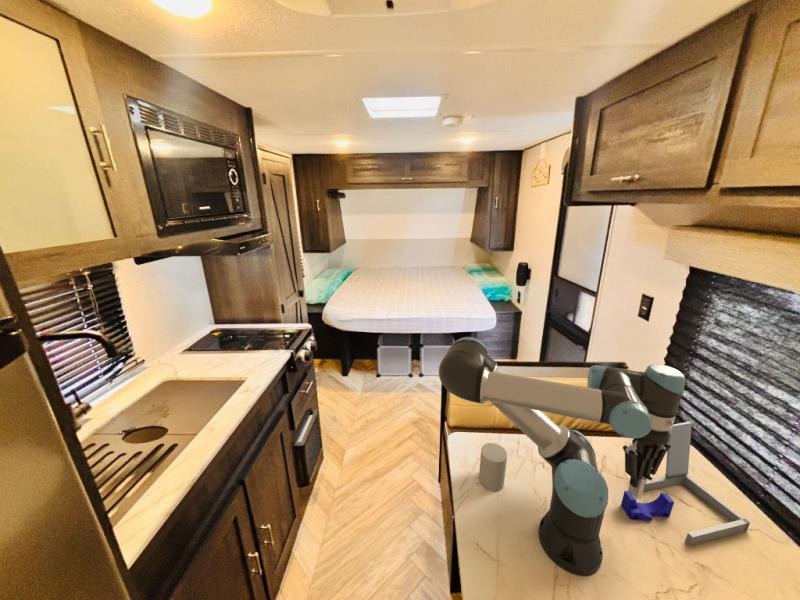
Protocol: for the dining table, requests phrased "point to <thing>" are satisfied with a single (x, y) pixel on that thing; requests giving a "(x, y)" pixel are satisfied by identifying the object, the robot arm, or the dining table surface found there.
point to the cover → (678, 450)
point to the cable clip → (647, 507)
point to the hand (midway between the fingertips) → (634, 493)
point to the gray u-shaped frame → (717, 531)
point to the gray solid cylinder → (492, 467)
